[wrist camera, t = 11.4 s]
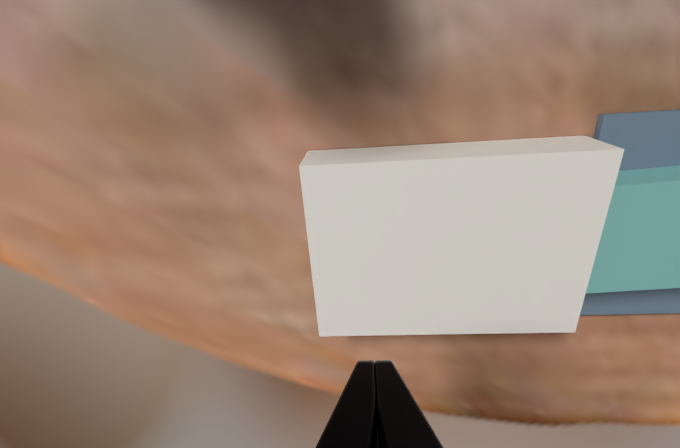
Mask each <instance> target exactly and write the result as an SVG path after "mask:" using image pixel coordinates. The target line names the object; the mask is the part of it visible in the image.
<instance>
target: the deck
mask: <svg viewBox="0 0 680 448" xmlns="http://www.w3.org/2000/svg"><path fill="white" fill-rule="evenodd" d="M624 150H625V149H623V148H620V147H617V146H614V145H611V144H608V143H605V142H602V141H599V140H596V139H593V138H590V137H587V136H566V137H548V138H530V139H512V140H494V141H476V142H458V143H440V144H422V145H404V146H386V147H368V148H350V149H332V150H314V151H308V152H307V153H306V155H305V157H304V159H303V160H302V162H301V164H300V165H299V170H300V178H301V186H302V195H303V203H304V212H305V220H306V229H307V237H308V245H309V254H310V262H311V271H312V279H313V287H314V296H315V304H316V313H317V321H318V329H319V336H371V335H436V334H502V333H568V332H575V331H576V327H577V323H578V320H579V316H580V312H581V309H582V305H583V301H584V298H585V294H586V290H587V286H588V283H589V279H590V275H591V272H592V268H593V264H594V261H595V257H596V253H597V249H598V246H599V242H600V238H601V235H602V231H603V227H604V224H605V220H606V216H607V213H608V209H609V205H610V201H611V198H612V194H613V190H614V187H615V183H616V179H617V176H618V172H619V168H620V164H621V161H622V157H623V153H624Z"/></svg>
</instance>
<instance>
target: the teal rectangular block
mask: <svg viewBox="0 0 680 448" xmlns="http://www.w3.org/2000/svg"><path fill="white" fill-rule="evenodd" d="M670 288H680V165H679V166H668V167H657V168H646V169H635V170H624V171H619V172H618V176H617V179H616V183H615V187H614V190H613V194H612V198H611V201H610V205H609V209H608V213H607V216H606V220H605V224H604V227H603V231H602V235H601V238H600V242H599V246H598V249H597V253H596V257H595V261H594V264H593V268H592V272H591V275H590V279H589V283H588V286H587V290H586V294H587V293H603V292H620V291H637V290H653V289H670Z"/></svg>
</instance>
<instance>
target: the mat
mask: <svg viewBox="0 0 680 448" xmlns="http://www.w3.org/2000/svg"><path fill="white" fill-rule="evenodd" d="M594 139H596V140H599V141H602V142H605V143H608V144H611V145H614V146H617V147H620V148H623V149H625V150H624V153H623V157H622V161H621V164H620V168H619V171H624V170H635V169H646V168H657V167H668V166H679V165H680V109H678V110H661V111H645V112H628V113H611V114H599V117H598V122H597V126H596V130H595V135H594ZM664 313H680V288H670V289H653V290H637V291H620V292H603V293H587V294H585V298H584V301H583V305H582V309H581V312H580V315H611V314H664Z"/></svg>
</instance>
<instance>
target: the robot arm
mask: <svg viewBox="0 0 680 448" xmlns="http://www.w3.org/2000/svg"><path fill="white" fill-rule="evenodd" d="M377 433H378V436H377ZM316 448H443V446H442V445H441V443H440V442H439V440H438V438H437V437H436V435H435V433H434V431H433V430H432V428H431V426H430V425H429V423H428V421H427V420H426V418H425V416H424V415H423V413H422V411H421V410H420V408H419V406H418V405H417V403H416V401H415V400H414V398H413V396H412V395H411V393H410V391H409V390H408V388H407V386H406V384H405V383H404V381H403V379H402V378H401V376H400V374H399V373H398V371H397V369H396V368H395V366H394V364H393V363H392V362H391V361H389V360H378V361H376V362H375V364H374V361H358V362H357V364H356V366H355V368H354V370H353V372H352V374H351V376H350V378H349V380H348V382H347V384H346V386H345V388H344V390H343V392H342V395H341V397H340V399H339V401H338V403H337V405H336V407H335V409H334V411H333V413H332V415H331V417H330V419H329V421H328V423H327V425H326V428H325V429H324V432H323V433H322V435H321V438H320V440H319V442H318V444H317V446H316Z"/></svg>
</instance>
